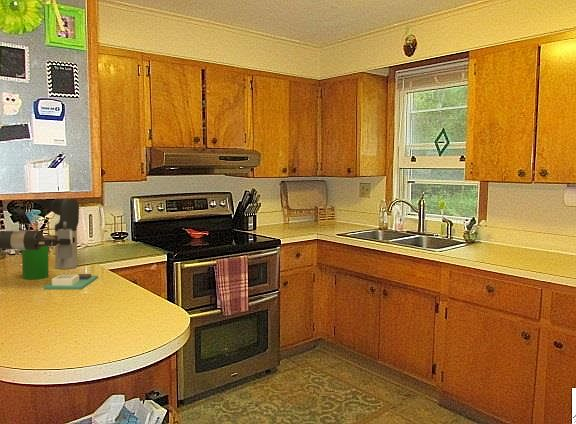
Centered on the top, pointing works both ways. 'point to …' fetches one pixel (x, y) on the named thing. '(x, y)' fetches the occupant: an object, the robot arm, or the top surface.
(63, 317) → the top surface
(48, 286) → the board
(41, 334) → the top surface
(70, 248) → the plug
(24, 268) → the green pen holder
